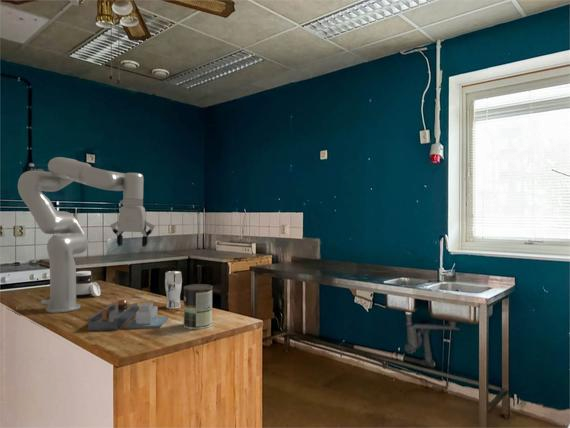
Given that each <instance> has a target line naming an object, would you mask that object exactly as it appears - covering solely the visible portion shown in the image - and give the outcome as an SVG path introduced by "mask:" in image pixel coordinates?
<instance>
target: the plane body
mask: <svg viewBox="0 0 570 428" xmlns="http://www.w3.org/2000/svg"><path fill="white" fill-rule="evenodd" d="M117 305H118V306H117ZM117 305H116V303H115V302H114V303H110V304H109V305H107V306H106V307H103V308H101V310H99V311H98V312H96V313H94V314H93V315H91V316H90V317H88V318H87V331H88V332H89V331H90V332H91V331H98V332H99V331H102V332H104V331H105V332H106V331H118V330H120V329H121V328H122V327H123V326H124V325H127V324H128V322H129V321H130V320H133V319H134V318H135V317H136V312H137V311H139V304H138V302H135V303H133V304H131V305H130V306H129V305H128V300H127V299H123V298H121V299H118V300H117Z"/></svg>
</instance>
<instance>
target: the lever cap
mask: <svg viewBox="0 0 570 428" xmlns="http://www.w3.org/2000/svg"><path fill="white" fill-rule="evenodd" d="M158 309H159V308H158V305H154V303H153V302H142V303H141V304H140V305H138V311H137V312H136V315H135V318H136V325H151V324H152V323H153V322H154V321H155V320H156V319H157V318H158V317H159V316H158V315H159V313H158V312H159V311H158Z"/></svg>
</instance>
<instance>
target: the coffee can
mask: <svg viewBox="0 0 570 428" xmlns="http://www.w3.org/2000/svg"><path fill="white" fill-rule="evenodd" d="M212 326H213V285H211V284H207V283H192V284H189V285H184V286H183V327H184V328H185V329H188V330H203V329H207V328H211V327H212Z"/></svg>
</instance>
